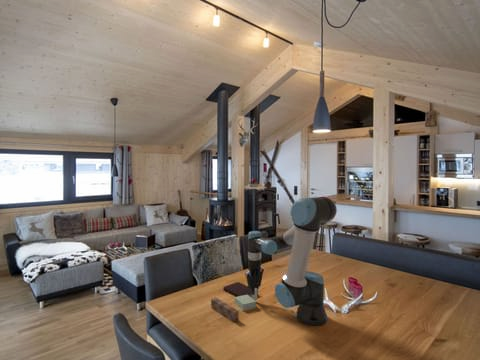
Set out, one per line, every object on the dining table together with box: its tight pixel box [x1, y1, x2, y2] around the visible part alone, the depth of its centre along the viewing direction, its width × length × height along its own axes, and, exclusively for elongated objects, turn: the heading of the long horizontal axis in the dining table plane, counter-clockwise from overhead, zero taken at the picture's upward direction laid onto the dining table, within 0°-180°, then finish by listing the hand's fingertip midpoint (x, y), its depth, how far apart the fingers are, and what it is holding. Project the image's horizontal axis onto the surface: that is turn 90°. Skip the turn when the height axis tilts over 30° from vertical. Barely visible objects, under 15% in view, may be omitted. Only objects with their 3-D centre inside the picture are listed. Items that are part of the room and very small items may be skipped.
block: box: [234, 295, 257, 312], centre depth 163 cm, size 10×8×4 cm
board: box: [210, 297, 240, 323], centre depth 154 cm, size 20×3×5 cm, turn 40°
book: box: [222, 281, 259, 298], centre depth 181 cm, size 12×19×3 cm, turn 39°
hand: (254, 299), depth 168 cm, fingers closed
